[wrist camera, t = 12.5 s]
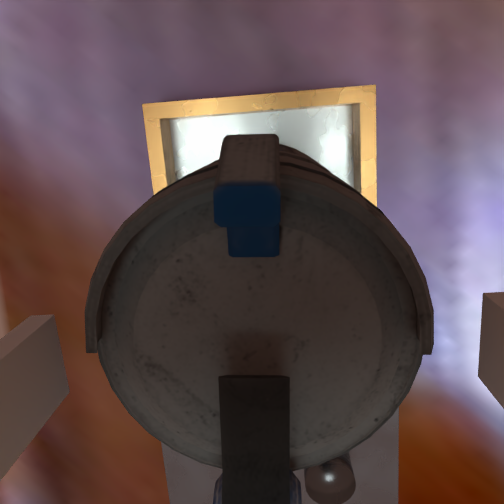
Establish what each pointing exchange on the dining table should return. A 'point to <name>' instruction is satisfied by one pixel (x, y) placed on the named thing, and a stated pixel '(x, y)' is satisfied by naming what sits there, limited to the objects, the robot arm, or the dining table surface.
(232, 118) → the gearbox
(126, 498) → the dining table surface
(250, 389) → the beverage bottle
